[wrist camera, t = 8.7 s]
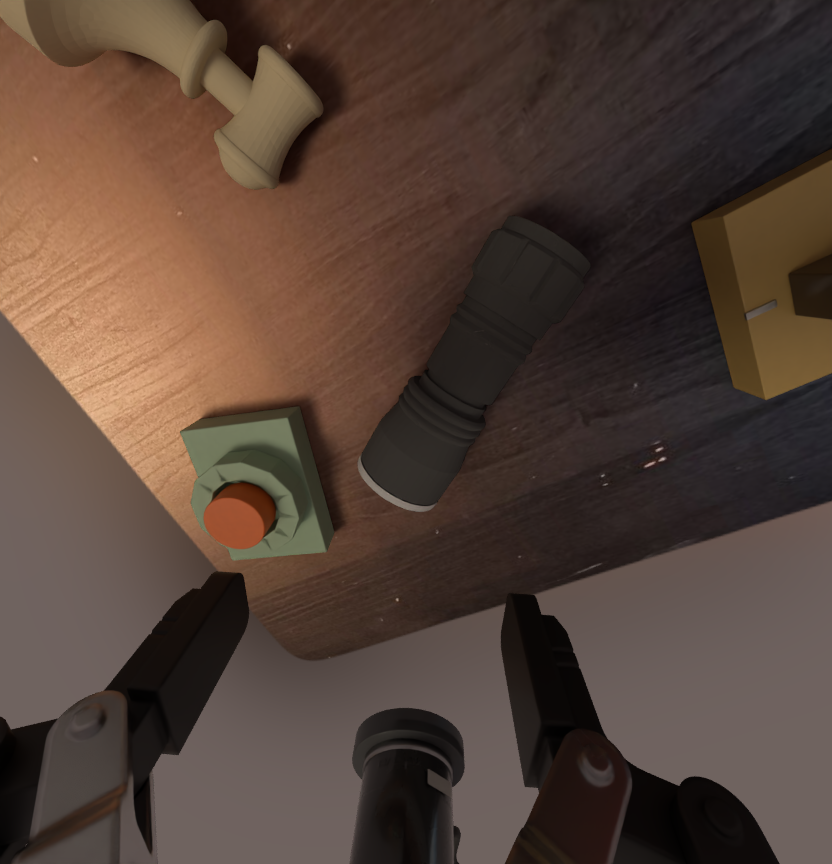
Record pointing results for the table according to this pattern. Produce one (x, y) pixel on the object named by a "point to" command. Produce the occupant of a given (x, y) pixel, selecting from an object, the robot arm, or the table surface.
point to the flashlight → (472, 362)
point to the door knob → (183, 70)
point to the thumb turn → (813, 289)
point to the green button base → (263, 476)
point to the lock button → (240, 515)
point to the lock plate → (769, 278)
